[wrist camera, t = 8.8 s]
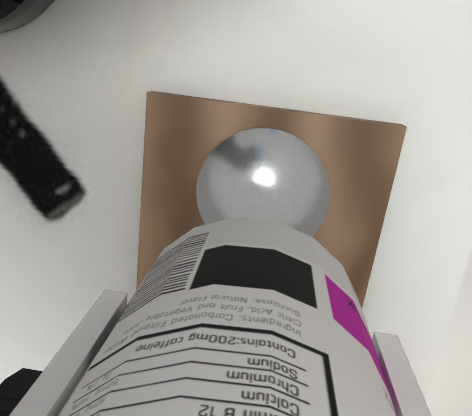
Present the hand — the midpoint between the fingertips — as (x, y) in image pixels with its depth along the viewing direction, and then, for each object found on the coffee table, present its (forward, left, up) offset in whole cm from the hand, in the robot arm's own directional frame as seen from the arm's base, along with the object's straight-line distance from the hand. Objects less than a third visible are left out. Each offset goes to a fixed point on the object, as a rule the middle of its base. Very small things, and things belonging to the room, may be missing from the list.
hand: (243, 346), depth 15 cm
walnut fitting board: (0, -6, -20) cm, 20 cm away
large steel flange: (0, 0, -18) cm, 18 cm away
